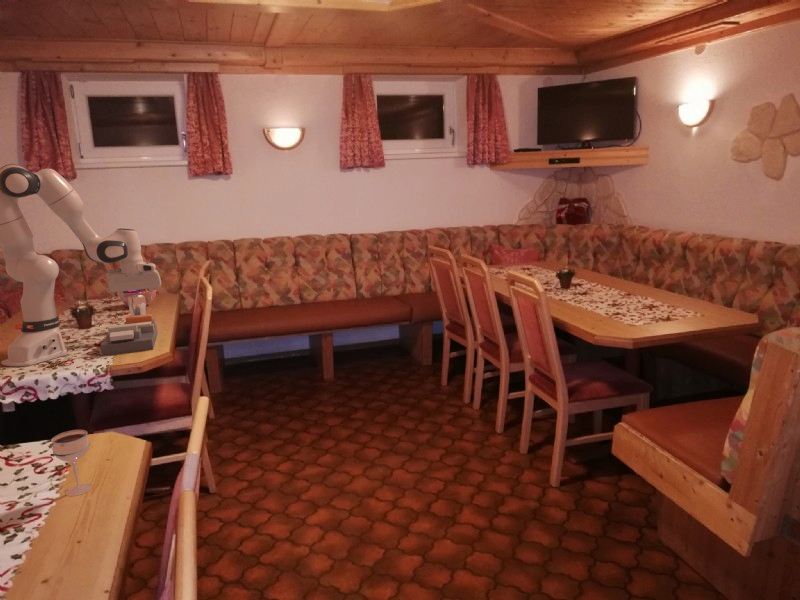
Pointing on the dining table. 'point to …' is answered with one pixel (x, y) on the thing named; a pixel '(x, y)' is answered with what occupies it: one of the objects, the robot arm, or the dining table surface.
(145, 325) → the bar ivory
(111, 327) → the bar sage
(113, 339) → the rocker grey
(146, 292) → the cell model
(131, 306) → the beer glass
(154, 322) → the panel
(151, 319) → the bar orange
